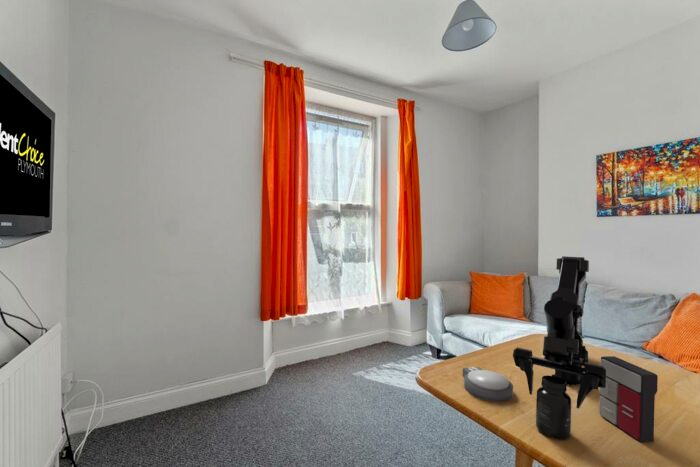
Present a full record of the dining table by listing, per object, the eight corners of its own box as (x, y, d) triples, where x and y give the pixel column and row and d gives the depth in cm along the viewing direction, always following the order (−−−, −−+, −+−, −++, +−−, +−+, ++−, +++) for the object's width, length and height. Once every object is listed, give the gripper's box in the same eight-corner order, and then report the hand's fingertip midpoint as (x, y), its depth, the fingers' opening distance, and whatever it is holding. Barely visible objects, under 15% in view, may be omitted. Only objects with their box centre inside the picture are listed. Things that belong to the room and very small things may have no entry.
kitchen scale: (489, 374, 104) (489, 363, 104) (523, 400, 88) (523, 387, 88) (451, 376, 102) (451, 365, 102) (479, 403, 86) (479, 390, 86)
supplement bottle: (576, 443, 70) (577, 388, 70) (542, 438, 72) (543, 384, 72) (562, 424, 77) (563, 374, 77) (531, 421, 79) (532, 371, 78)
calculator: (596, 414, 82) (597, 355, 82) (612, 414, 82) (613, 355, 82) (638, 443, 71) (640, 375, 71) (656, 442, 71) (658, 374, 71)
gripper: (515, 316, 84) (503, 372, 75) (606, 330, 72) (605, 399, 64) (521, 339, 90) (510, 393, 81) (606, 356, 78) (604, 421, 70)
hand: (553, 400), depth 74 cm, fingers open, 9 cm apart
